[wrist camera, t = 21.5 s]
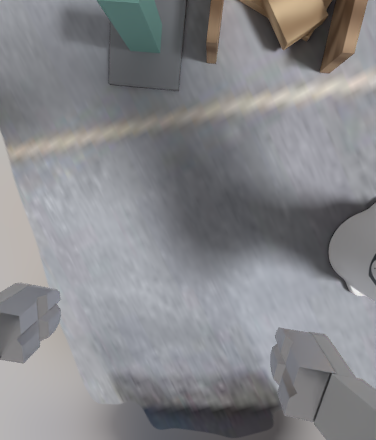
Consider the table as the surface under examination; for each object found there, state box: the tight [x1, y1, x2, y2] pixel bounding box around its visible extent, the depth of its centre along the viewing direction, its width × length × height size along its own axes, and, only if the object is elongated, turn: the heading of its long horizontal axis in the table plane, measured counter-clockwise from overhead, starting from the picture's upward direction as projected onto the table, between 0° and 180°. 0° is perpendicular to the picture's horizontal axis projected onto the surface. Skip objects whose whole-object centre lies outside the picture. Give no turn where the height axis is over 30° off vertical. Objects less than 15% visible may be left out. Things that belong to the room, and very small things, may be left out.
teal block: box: [97, 0, 162, 53], centre depth 30 cm, size 5×4×11 cm
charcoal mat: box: [109, 0, 187, 91], centre depth 35 cm, size 12×14×1 cm
